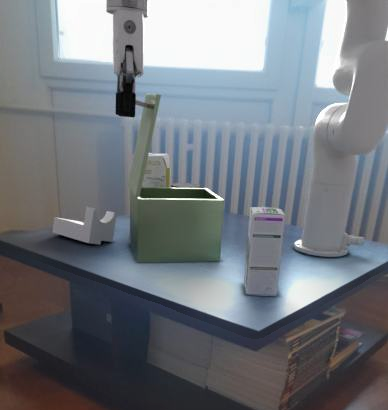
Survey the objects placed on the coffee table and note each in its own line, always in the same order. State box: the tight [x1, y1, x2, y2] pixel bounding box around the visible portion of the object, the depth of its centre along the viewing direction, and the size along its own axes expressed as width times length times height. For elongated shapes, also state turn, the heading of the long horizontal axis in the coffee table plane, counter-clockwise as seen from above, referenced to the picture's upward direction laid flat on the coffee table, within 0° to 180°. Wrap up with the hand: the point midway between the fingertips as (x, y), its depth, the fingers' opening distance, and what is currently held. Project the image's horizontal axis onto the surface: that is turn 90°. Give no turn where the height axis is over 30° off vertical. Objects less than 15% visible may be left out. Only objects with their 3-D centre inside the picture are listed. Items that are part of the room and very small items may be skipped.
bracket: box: [51, 206, 118, 245], centre depth 117 cm, size 13×7×8 cm, turn 51°
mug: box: [170, 182, 202, 188], centre depth 136 cm, size 11×8×10 cm
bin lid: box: [127, 93, 162, 197], centre depth 99 cm, size 18×15×5 cm
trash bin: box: [129, 187, 225, 264], centre depth 108 cm, size 18×15×13 cm
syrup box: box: [243, 206, 286, 297], centre depth 88 cm, size 6×6×14 cm
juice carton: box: [130, 152, 171, 188], centre depth 121 cm, size 8×9×19 cm
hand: (125, 115), depth 97 cm, fingers closed on bin lid, 5 cm apart
